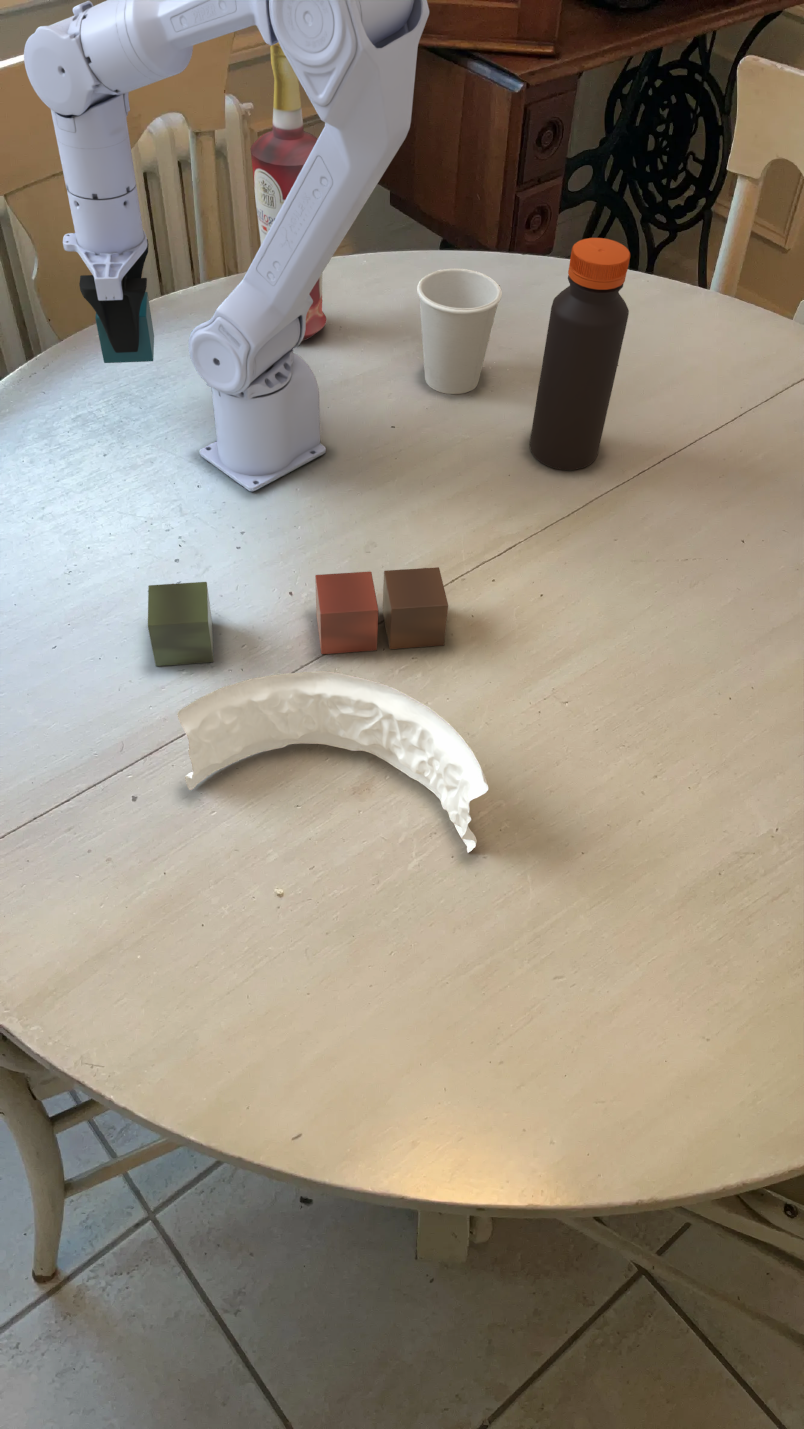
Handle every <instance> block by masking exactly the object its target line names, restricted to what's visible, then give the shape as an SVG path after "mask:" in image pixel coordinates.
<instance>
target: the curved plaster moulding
mask: <svg viewBox="0 0 804 1429" xmlns="http://www.w3.org/2000/svg"><path fill="white" fill-rule="evenodd" d="M176 715H177V718H178V721H179V723H180V725H181V727H182V729H183V731H184V733H185V735H186V737H187V740H188V750H187V752H188V758H189V760H190V763H191V770H192V771H190V772H188V773H187V774H186V775H185V776H184V781H185V783H186V786H187V789H188V790H189V791H192V790H193V789H195V788H196V786H198V784H200V783H201V782H203V781H204V780H206V779H207V777H209V776H210V775H212V774H213V773H215V772H218V771H219V770H221V769H224V768H226V767H228V766H229V765H232V764H234V763H236V762H238V761H241V760H243V759H246V758H248V757H250V756H253V755H256V754H259V753H262V752H263V753H264V752H268V751H271V750H276V749H282V748H285V747H286V746H289V745H292V744H294V745H297V744H316V745H318V744H319V745H326V746H330V747H336V748H340V749H345V750H348V751H351V752H357V751H360V752H361V751H362V752H366V753H368V754H372V755H373V756H375V757H377V758H379V759H381V760H383V761H385V763H386V762H387V763H388V764H389V765H391V766H392V767H393V768H395V769H397V770H398V771H401V773H403V774H404V775H407V776H408V777H409V778H410V779H412V780H415V781H417V782H418V783H419V784H421V785H422V786H424V787H425V788H426V789H428V790H429V791H430V792H432V793H433V794H434V795H435V796H436V798H438V799H439V801H440V804H441V807H442V809H443V810H444V811H446V812H447V814H448V816H449V820H450V822H451V823H452V824H453V825H454V827H455V829H456V831H457V833H458V835H459V836H460V838H461V840H462V842H463V843H464V844H465V846H466V851H467V854H469V853H470V852H471V851H472V850H474V848H476V846H477V842H478V840H477V837H476V834H475V833H474V832H473V831H472V830H471V828H470V826H469V823H470V822H471V821H472V817H471V814H470V803H471V801H473V800H475V799H477V798H479V797H481V796H483V795H485V794H486V793H487V792H488V791H489V785H488V782H487V779H486V775H485V773H484V770H483V768H482V766H481V764H480V762H479V761H478V759H477V756H476V755H475V753H474V752H473V750H472V748H471V747H470V746H469V744H468V743H467V742H466V741H465V739H464V738H463V736H461V735H460V733H459V732H458V731H457V730H456V728H455V727H453V725H451V724H450V723H449V722H448V721H447V720H445V719H444V718H443V717H442V716H440V714H438V713H437V712H436V711H435V710H433V709H432V708H431V707H429V706H428V705H427V704H424V703H423V702H421V701H419V700H417V699H415V698H414V697H411V696H410V695H408V694H406V693H405V692H403V691H401V690H398V689H396V688H395V687H392V686H391V685H389V684H388V685H387V684H385V683H382V682H378V681H375V680H371V679H369V678H363V677H359V676H355V675H349V674H344V673H341V672H334V671H330V670H329V671H328V670H318V671H317V670H316V671H304V672H303V671H302V672H286V673H277V674H271V675H264V676H259V677H252V678H250V679H246V680H243V681H239V682H237V683H233V684H230V685H225V686H222V687H220V688H217V689H216V690H214V691H212V692H210V693H207V694H205V695H203V696H201V697H199V698H197V699H196V700H194V701H193V702H191V703H189V704H187V705H186V706H184V707H182V708H181V709H179V710H178V711H177V714H176Z"/></svg>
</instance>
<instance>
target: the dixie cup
mask: <svg viewBox="0 0 804 1429" xmlns="http://www.w3.org/2000/svg"><path fill="white" fill-rule="evenodd" d="M416 292H417V295H418V297H419V312H420V325H421V339H422V354H423V367H424V368H423V370H424V381H425V383H426V384H427V385H428V387H429V388H431V389H432V390H434V391H436V392H439V393H442V394H446V395H447V394H448V395H461V394H466V393H469V392H471V391H473V390H475V389H476V387H477V386H478V385H479V381H480V377H481V373H482V369H483V365H484V361H485V356H486V353H487V349H488V346H489V341H490V336H491V333H492V329H493V324H494V321H495V317H496V312H497V308H498V304H499V303H500V302H501V300H502V296H503V292H502V289H501V286H500V284H498V282H497V281H495V279H493V278H492V277H490V276H488V275H487V274H485V273H482V272H479V271H476V270H473V269H467V268H444V269H438V270H435V271H431V272H429V273H427V274H426V275H424V277H422V278H421V279H420V280H419V282H418V283H417V286H416Z"/></svg>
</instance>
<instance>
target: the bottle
mask: <svg viewBox="0 0 804 1429" xmlns="http://www.w3.org/2000/svg"><path fill="white" fill-rule="evenodd" d="M630 259H631V252H630V250H629V249H628V247H627V246H625V245H623V244H622V243H620V242H619V241H616V240H613V239H609V238H603V237H589V238H583V239H580V240H578V241H577V242H575V243H574V244H573V245H572V247H571V252H570V258H569V263H568V271H567V274H568V275H567V281H568V283H569V285H568V286H567V287H565V288H564V289H563V290H562V291H560V292H559V293H558V294H557V295H556V296H555V297H554V298H553V300H552V304H551V308H550V313H549V320H548V326H547V331H546V338H545V345H544V351H543V355H542V356H543V357H542V363H541V370H540V376H539V381H538V388H537V394H536V400H535V406H534V407H535V408H534V414H533V420H532V426H531V432H530V438H529V444H528V445H529V449H530V451H531V454H532V456H533V457H534V458H535V459H536V460H537V461H539V462H540V463H542V464H543V465H545V466H547V467H550V468H553V469H557V470H562V471H575V470H580V469H583V468H586V467H588V466H590V465H591V464H593V462H595V460H596V459H597V457H598V456H599V450H600V447H601V441H602V437H603V432H604V428H605V424H606V418H607V414H608V410H609V406H610V401H611V396H612V392H613V387H614V383H615V379H616V374H617V369H618V366H619V365H618V364H619V360H620V355H621V351H622V346H623V342H624V338H625V334H626V329H627V324H628V320H629V314H630V311H629V307H628V305H627V302H626V301H625V299H624V298H623V297H622V296H621V294H620V293H619V292H620V291H621V290H622V289H623V288H624V284H625V282H626V277H627V272H628V269H629V264H630Z"/></svg>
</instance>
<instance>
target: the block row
mask: <svg viewBox="0 0 804 1429" xmlns="http://www.w3.org/2000/svg"><path fill="white" fill-rule="evenodd" d="M314 576H315V577H314V578H315V579H314V580H315V615H316V616H315V617H316V622H317V623H316V624H317V625H316V626H317V632H318V640H319V647H320V654H321V655H329V654H331V655H333V654H344V653H358V652H371V651H372V652H373V651H377V650H378V636H379V635H378V632H379V606H378V600H377V594H376V589H375V584H374V579H373V573H372V571H370V570H369V571H357V572H355V571H354V572H339V573H323V574H315V575H314ZM147 586H148V589H147V630H148V634H149V640H150V646H151V650H152V656H153V660H154V665H155V667H163V666H177V665H179V666H180V665H192V664H206V663H214V637H213V636H214V635H213V633H214V632H213V618H212V610H211V603H210V596H209V595H210V594H209V588H208V587H209V586H208V582H207V581H196V582H182V583H181V582H179V583H165V584H164V583H163V584H149V585H147ZM381 612H382V616H383V622H384V627H385V628H384V629H385V632H386V637H387V643H388V649H389V650H397V649H411V648H413V649H414V648H425V647H439V646H444V645H445V642H446V641H445V640H446V631H447V622H448V613H449V603H448V598H447V594H446V589H445V585H444V582H443V578H442V573H441V569H440V567H438V566H437V567H421V568H407V569H391V570H389V569H387V570H384V571H383V586H382V611H381Z"/></svg>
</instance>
